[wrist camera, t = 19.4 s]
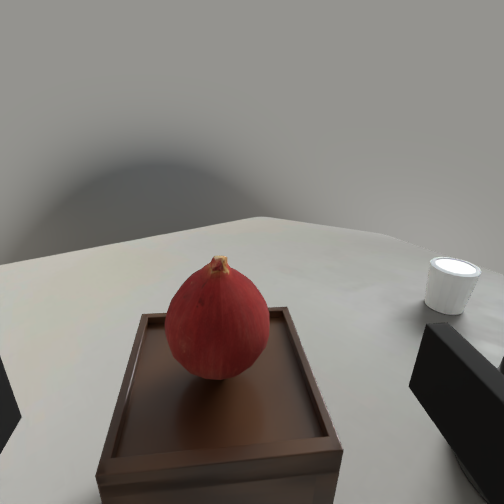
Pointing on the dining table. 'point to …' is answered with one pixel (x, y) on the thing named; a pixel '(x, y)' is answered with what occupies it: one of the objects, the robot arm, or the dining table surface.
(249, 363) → the onion
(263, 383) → the box
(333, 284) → the dining table surface
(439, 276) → the shot glass
